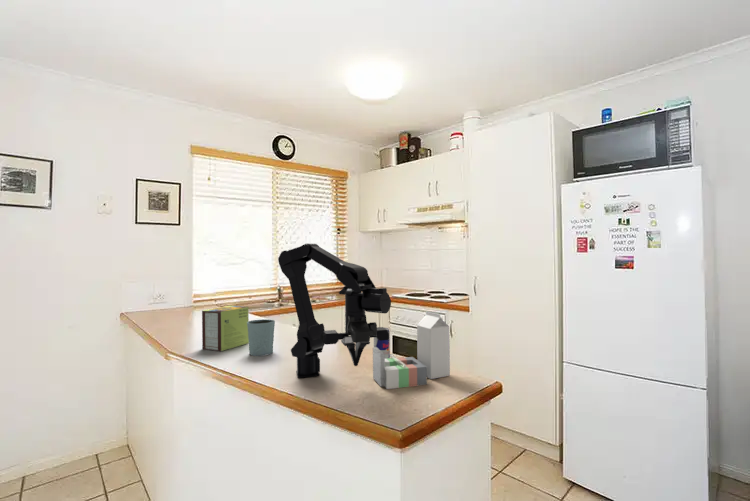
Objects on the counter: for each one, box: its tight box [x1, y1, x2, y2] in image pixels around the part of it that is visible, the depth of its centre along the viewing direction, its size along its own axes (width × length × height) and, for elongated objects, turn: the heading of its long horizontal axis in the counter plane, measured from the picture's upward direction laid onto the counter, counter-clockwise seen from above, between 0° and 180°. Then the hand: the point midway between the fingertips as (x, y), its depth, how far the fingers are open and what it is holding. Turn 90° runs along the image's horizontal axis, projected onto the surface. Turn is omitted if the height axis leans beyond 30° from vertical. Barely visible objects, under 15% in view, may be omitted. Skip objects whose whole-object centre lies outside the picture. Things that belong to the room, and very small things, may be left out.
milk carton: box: [416, 310, 451, 380], centre depth 118 cm, size 7×7×19 cm
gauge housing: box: [383, 356, 428, 390], centre depth 113 cm, size 12×11×5 cm
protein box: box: [201, 305, 250, 352], centre depth 158 cm, size 10×15×16 cm
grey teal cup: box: [247, 318, 276, 357], centre depth 147 cm, size 10×10×12 cm
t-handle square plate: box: [372, 346, 406, 387], centre depth 112 cm, size 9×12×9 cm
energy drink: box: [373, 327, 391, 359], centre depth 129 cm, size 5×5×12 cm
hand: (355, 365), depth 110 cm, fingers closed
